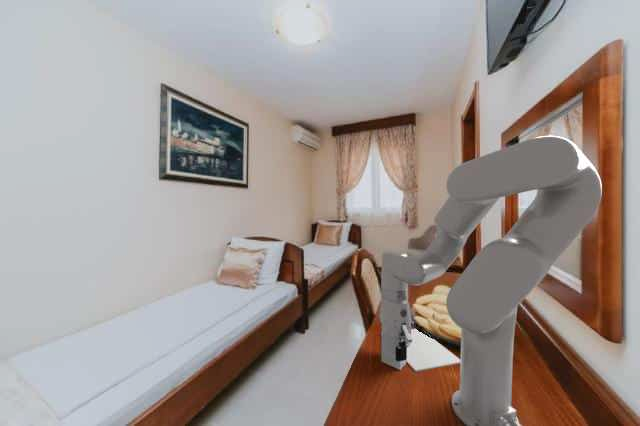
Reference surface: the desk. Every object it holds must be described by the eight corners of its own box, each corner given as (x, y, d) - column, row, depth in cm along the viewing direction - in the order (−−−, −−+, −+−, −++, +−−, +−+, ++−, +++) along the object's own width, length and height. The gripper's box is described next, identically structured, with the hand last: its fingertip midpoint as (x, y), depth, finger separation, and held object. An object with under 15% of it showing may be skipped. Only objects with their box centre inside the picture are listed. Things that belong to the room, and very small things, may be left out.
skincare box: (406, 363, 72) (407, 324, 72) (400, 370, 69) (400, 329, 69) (387, 354, 77) (388, 317, 76) (380, 361, 73) (381, 322, 73)
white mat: (462, 362, 73) (462, 361, 73) (415, 371, 69) (415, 370, 69) (419, 329, 92) (419, 328, 92) (380, 334, 88) (380, 333, 88)
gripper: (424, 303, 64) (423, 369, 65) (390, 282, 81) (389, 335, 82) (399, 306, 63) (398, 374, 63) (369, 284, 79) (368, 338, 80)
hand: (393, 351), depth 73 cm, fingers closed on skincare box, 7 cm apart
